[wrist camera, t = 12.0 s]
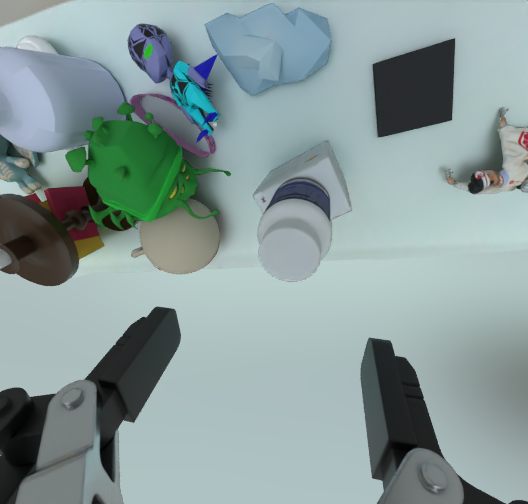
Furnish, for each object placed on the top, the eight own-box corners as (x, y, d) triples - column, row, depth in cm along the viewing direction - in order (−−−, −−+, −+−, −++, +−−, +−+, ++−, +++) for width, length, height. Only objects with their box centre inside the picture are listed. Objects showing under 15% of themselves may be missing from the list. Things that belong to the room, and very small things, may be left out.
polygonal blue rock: (230, 93, 34) (206, 102, 30) (216, 18, 29) (187, 17, 26) (337, 83, 29) (324, 92, 25) (339, -11, 24) (324, -17, 21)
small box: (289, 207, 37) (277, 243, 28) (269, 170, 35) (249, 196, 26) (346, 181, 34) (353, 212, 25) (328, 138, 32) (329, 155, 23)
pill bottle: (266, 181, 25) (236, 225, 17) (325, 168, 23) (324, 208, 15) (280, 234, 27) (260, 294, 19) (335, 225, 26) (338, 287, 18)
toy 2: (114, 276, 29) (156, 298, 39) (218, 236, 30) (235, 267, 39) (103, 204, 33) (143, 240, 43) (195, 171, 34) (215, 213, 43)
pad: (372, 64, 28) (373, 63, 27) (451, 39, 26) (455, 38, 25) (377, 136, 31) (379, 137, 30) (449, 119, 29) (452, 120, 28)
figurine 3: (625, 92, 26) (453, 112, 28) (656, 172, 24) (469, 187, 26) (564, 134, 32) (426, 147, 33) (586, 200, 30) (438, 211, 32)
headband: (224, 131, 34) (218, 134, 32) (212, 158, 36) (205, 163, 34) (145, 78, 32) (134, 78, 31) (137, 110, 35) (126, 112, 33)
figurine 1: (193, 154, 31) (118, 66, 29) (228, 134, 34) (161, 54, 32) (209, 113, 25) (116, 3, 24) (250, 93, 28) (169, -6, 27)
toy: (-35, 212, 29) (-54, 227, 38) (28, 289, 33) (-3, 286, 42) (85, 174, 39) (48, 193, 47) (123, 237, 43) (82, 243, 51)
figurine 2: (210, 243, 29) (157, 178, 20) (99, 232, 33) (13, 175, 24) (239, 153, 34) (207, 69, 25) (139, 153, 38) (80, 81, 29)
